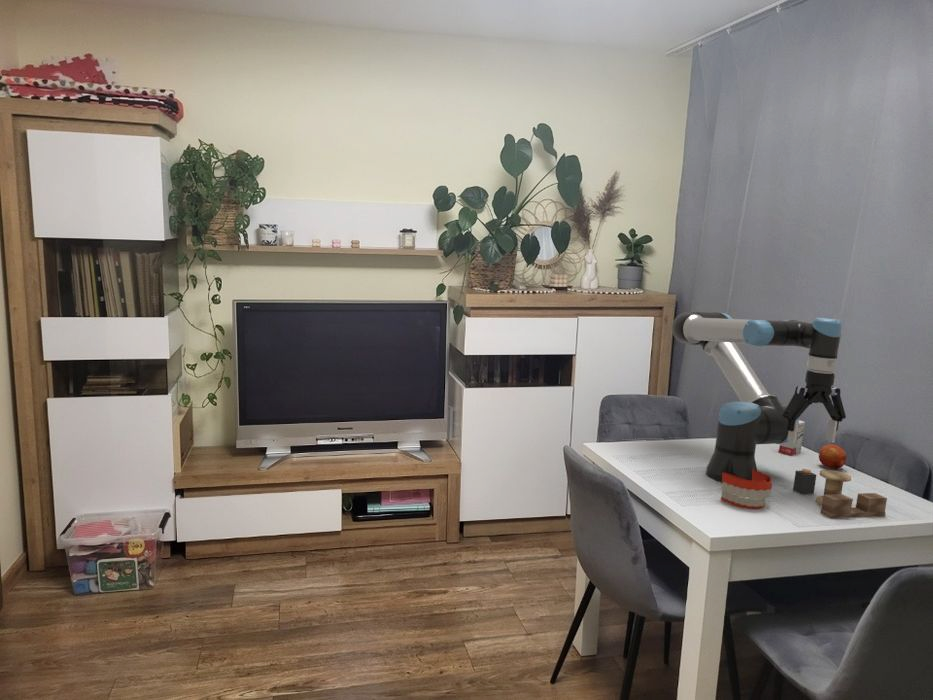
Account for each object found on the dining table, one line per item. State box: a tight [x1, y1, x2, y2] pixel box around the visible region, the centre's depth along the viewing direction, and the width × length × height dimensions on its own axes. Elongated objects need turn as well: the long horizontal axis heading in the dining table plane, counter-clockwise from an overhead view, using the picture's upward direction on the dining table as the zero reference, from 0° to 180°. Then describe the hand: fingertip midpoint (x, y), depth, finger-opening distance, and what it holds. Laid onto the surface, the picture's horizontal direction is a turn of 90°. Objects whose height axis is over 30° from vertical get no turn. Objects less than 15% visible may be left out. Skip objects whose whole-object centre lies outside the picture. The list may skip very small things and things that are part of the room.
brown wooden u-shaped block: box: [819, 492, 888, 519], centre depth 196 cm, size 18×4×5 cm, turn 105°
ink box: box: [778, 419, 806, 457], centre depth 256 cm, size 8×5×12 cm, turn 134°
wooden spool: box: [815, 469, 852, 506], centre depth 203 cm, size 8×8×9 cm
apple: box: [818, 443, 847, 470], centre depth 240 cm, size 8×8×8 cm
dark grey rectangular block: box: [792, 468, 817, 495], centre depth 213 cm, size 4×4×7 cm
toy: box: [720, 470, 772, 510], centre depth 198 cm, size 12×10×8 cm
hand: (810, 441), depth 211 cm, fingers open, 13 cm apart
